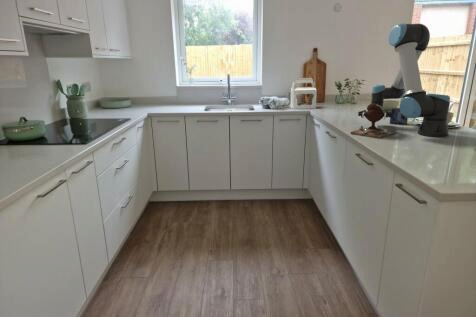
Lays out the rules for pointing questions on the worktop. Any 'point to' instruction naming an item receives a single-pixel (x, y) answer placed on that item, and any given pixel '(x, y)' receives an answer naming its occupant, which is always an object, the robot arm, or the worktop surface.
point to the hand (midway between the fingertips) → (373, 116)
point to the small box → (397, 117)
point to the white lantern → (303, 90)
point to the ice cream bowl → (374, 115)
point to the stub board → (372, 132)
